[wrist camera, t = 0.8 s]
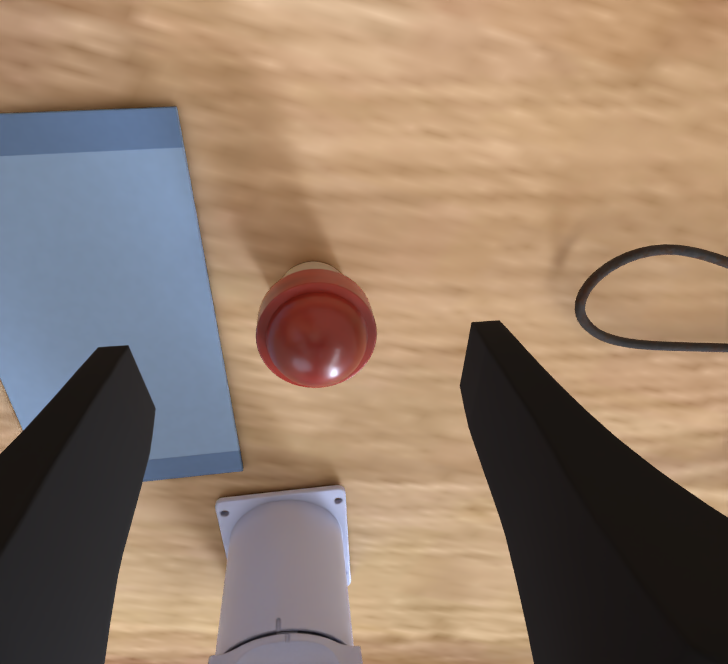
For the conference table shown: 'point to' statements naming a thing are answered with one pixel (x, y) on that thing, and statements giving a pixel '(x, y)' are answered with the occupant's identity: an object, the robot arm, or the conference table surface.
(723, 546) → the robot arm
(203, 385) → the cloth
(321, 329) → the mushroom
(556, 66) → the conference table surface
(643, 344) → the telephone
